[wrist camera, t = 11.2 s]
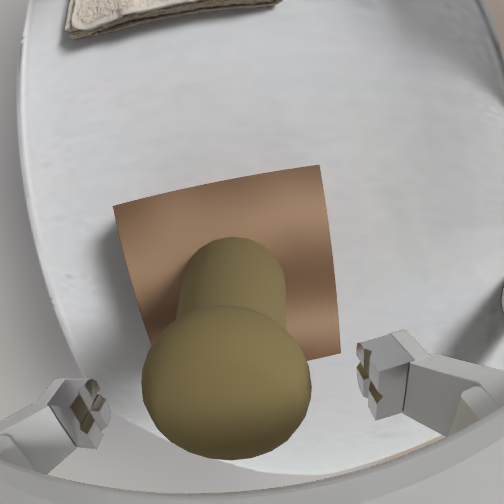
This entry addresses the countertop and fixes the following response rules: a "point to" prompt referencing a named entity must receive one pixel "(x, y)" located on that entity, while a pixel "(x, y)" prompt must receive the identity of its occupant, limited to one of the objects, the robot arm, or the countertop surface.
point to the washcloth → (140, 12)
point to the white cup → (503, 300)
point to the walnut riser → (243, 226)
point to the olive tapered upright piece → (228, 357)
